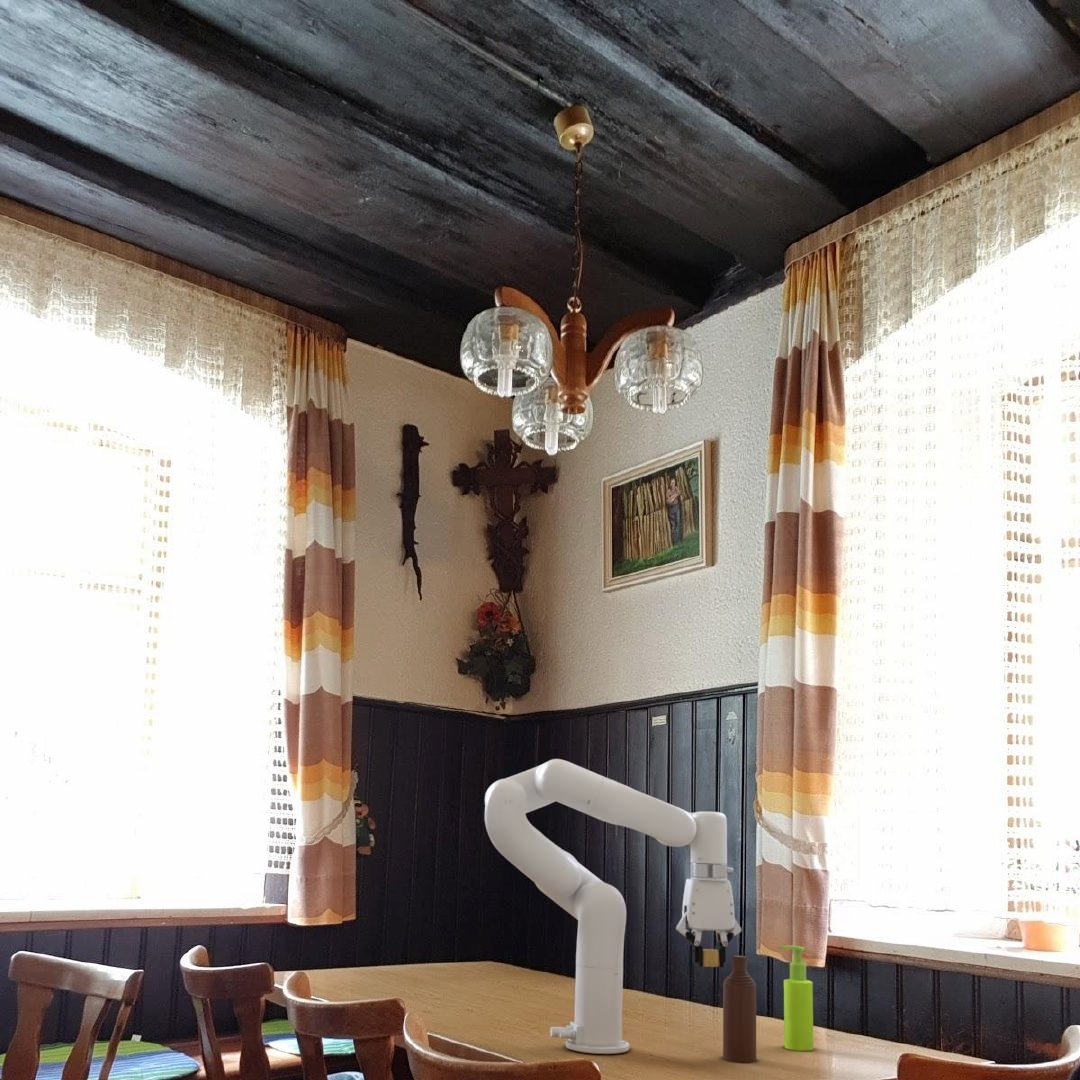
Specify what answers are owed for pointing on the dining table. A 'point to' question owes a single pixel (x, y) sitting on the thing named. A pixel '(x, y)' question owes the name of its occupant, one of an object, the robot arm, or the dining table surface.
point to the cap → (711, 958)
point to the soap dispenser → (798, 1005)
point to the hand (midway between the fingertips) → (708, 965)
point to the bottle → (739, 1014)
